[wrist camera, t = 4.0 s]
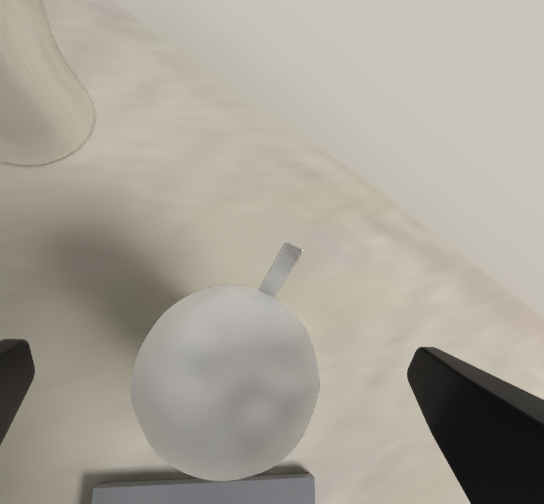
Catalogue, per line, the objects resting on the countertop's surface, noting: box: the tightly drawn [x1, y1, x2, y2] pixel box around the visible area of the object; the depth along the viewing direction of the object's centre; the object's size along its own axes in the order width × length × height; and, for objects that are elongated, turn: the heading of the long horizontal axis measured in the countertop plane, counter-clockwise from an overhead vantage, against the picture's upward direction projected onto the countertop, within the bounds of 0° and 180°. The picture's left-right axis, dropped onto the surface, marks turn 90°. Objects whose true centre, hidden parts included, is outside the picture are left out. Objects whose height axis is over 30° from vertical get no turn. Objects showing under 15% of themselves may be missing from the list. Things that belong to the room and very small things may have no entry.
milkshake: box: [131, 242, 320, 481], centre depth 11 cm, size 4×5×10 cm
